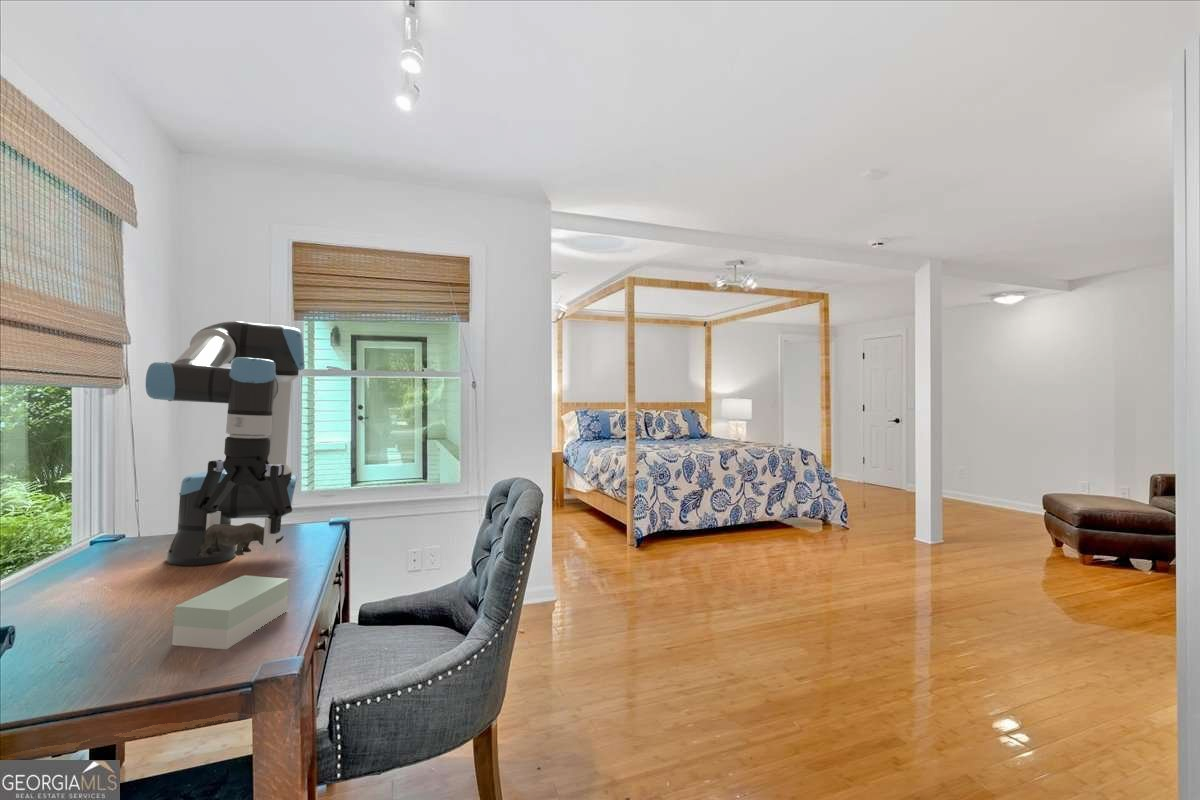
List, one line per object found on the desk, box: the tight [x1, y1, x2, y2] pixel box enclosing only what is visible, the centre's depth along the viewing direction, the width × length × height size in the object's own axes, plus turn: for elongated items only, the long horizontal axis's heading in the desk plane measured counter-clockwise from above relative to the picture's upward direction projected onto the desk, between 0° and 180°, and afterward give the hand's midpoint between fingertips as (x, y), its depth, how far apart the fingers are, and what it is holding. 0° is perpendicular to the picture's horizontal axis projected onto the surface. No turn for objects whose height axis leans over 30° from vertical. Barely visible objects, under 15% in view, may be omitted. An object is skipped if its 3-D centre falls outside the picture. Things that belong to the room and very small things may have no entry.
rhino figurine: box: [199, 522, 284, 557], centre depth 106 cm, size 4×14×6 cm, turn 112°
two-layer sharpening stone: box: [171, 574, 290, 650], centre depth 106 cm, size 18×10×7 cm, turn 178°
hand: (240, 547), depth 106 cm, fingers closed on rhino figurine, 11 cm apart
